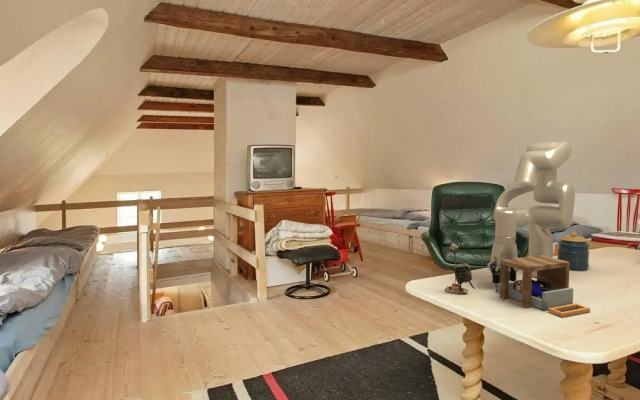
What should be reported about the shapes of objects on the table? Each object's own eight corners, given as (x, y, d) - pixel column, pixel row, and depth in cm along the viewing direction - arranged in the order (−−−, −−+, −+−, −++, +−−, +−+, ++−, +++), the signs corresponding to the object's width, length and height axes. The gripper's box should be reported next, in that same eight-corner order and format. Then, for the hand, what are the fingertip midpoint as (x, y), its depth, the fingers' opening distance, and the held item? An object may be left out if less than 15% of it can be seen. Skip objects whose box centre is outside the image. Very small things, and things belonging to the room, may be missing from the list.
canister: (588, 266, 187) (589, 231, 186) (589, 272, 177) (590, 235, 175) (557, 263, 195) (558, 229, 193) (556, 268, 184) (557, 232, 182)
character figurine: (554, 307, 135) (510, 297, 146) (561, 301, 140) (518, 291, 151) (554, 286, 134) (510, 277, 145) (561, 280, 139) (518, 272, 150)
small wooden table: (539, 291, 152) (540, 255, 151) (568, 300, 141) (569, 262, 139) (499, 297, 145) (500, 259, 144) (526, 308, 134) (528, 267, 132)
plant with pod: (469, 297, 145) (470, 246, 144) (441, 291, 153) (442, 242, 151) (477, 292, 151) (478, 243, 149) (450, 286, 159) (450, 239, 157)
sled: (513, 284, 160) (514, 268, 159) (572, 305, 135) (573, 285, 135) (488, 288, 155) (488, 271, 155) (544, 310, 131) (545, 290, 130)
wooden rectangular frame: (575, 307, 134) (575, 303, 134) (589, 312, 130) (590, 308, 129) (548, 312, 130) (548, 308, 130) (562, 317, 125) (562, 313, 125)
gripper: (514, 237, 161) (513, 277, 162) (481, 240, 155) (480, 282, 156) (529, 240, 154) (527, 282, 155) (495, 243, 148) (494, 287, 149)
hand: (504, 282), depth 156 cm, fingers open, 8 cm apart
